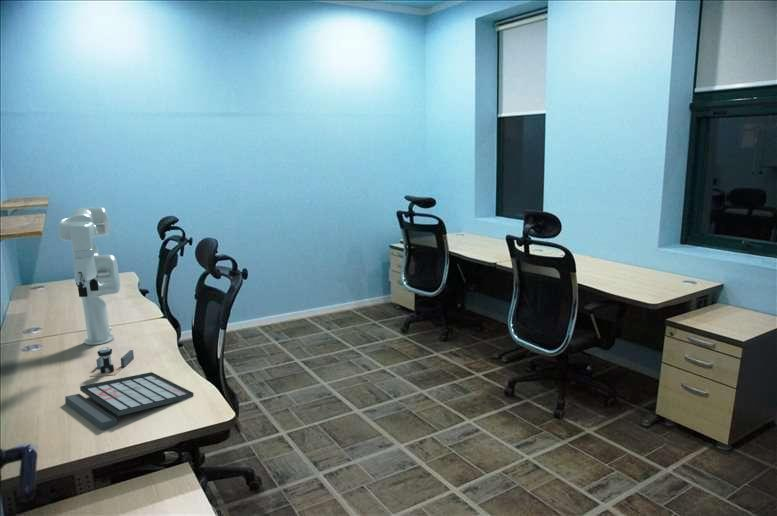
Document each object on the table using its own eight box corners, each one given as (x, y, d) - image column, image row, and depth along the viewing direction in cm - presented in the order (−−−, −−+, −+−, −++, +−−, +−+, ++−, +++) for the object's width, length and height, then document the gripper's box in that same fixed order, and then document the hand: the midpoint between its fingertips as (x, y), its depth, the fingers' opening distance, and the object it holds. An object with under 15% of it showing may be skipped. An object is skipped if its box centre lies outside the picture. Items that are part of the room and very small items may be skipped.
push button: (96, 376, 214) (92, 352, 212) (97, 371, 219) (93, 348, 217) (114, 372, 217) (111, 349, 215) (115, 368, 222) (112, 345, 220)
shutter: (151, 389, 215) (65, 408, 191) (151, 372, 215) (65, 389, 191) (193, 407, 195) (102, 431, 171) (193, 388, 194) (102, 410, 170)
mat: (97, 370, 221) (97, 369, 221) (122, 368, 222) (121, 368, 222) (89, 376, 215) (89, 376, 214) (115, 375, 215) (115, 374, 215)
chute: (108, 359, 232) (106, 351, 231) (134, 358, 233) (132, 349, 232) (97, 368, 222) (96, 359, 222) (124, 367, 223) (123, 358, 222)
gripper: (84, 250, 230) (89, 289, 233) (63, 258, 213) (69, 299, 216) (102, 249, 231) (107, 288, 234) (82, 257, 214) (88, 298, 217)
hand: (89, 293), depth 225 cm, fingers open, 9 cm apart
